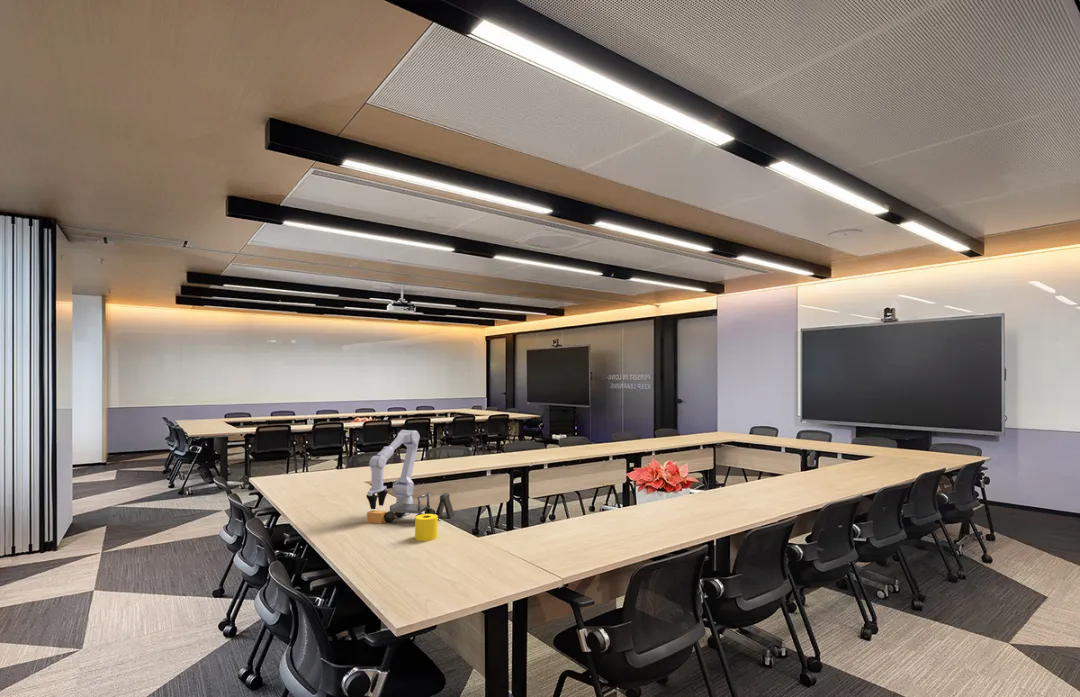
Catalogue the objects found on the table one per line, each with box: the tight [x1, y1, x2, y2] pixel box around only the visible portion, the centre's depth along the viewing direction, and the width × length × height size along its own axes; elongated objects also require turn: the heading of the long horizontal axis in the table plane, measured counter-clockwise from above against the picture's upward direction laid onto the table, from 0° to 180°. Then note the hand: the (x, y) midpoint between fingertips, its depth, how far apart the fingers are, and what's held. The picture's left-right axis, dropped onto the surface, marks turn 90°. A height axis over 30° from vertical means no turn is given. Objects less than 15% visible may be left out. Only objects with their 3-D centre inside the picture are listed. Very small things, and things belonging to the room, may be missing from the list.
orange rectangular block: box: [366, 509, 387, 524], centre depth 274 cm, size 4×8×5 cm, turn 76°
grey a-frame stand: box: [435, 492, 456, 520], centre depth 282 cm, size 9×6×12 cm, turn 78°
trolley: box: [384, 492, 436, 524], centre depth 275 cm, size 12×22×14 cm, turn 75°
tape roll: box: [414, 513, 439, 542], centre depth 246 cm, size 10×10×9 cm
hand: (377, 507), depth 274 cm, fingers open, 7 cm apart
